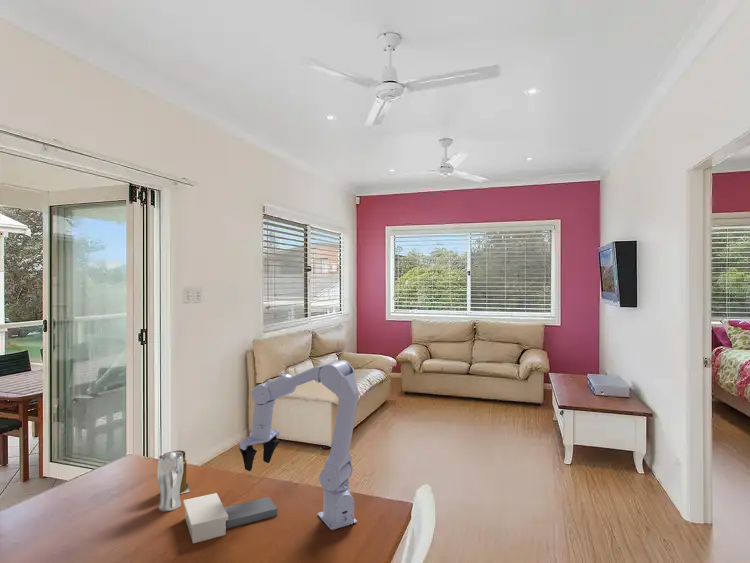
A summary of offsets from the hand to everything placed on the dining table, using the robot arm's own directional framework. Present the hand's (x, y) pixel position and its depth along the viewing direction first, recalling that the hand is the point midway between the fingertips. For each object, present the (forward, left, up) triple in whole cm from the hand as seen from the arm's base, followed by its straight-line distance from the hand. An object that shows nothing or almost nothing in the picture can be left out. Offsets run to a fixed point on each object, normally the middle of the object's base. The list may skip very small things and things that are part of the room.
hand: (257, 465), depth 136 cm
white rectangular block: (-8, +16, -11) cm, 21 cm away
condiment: (+20, +20, -11) cm, 30 cm away
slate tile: (-8, +4, -11) cm, 14 cm away
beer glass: (+9, +23, -11) cm, 27 cm away
